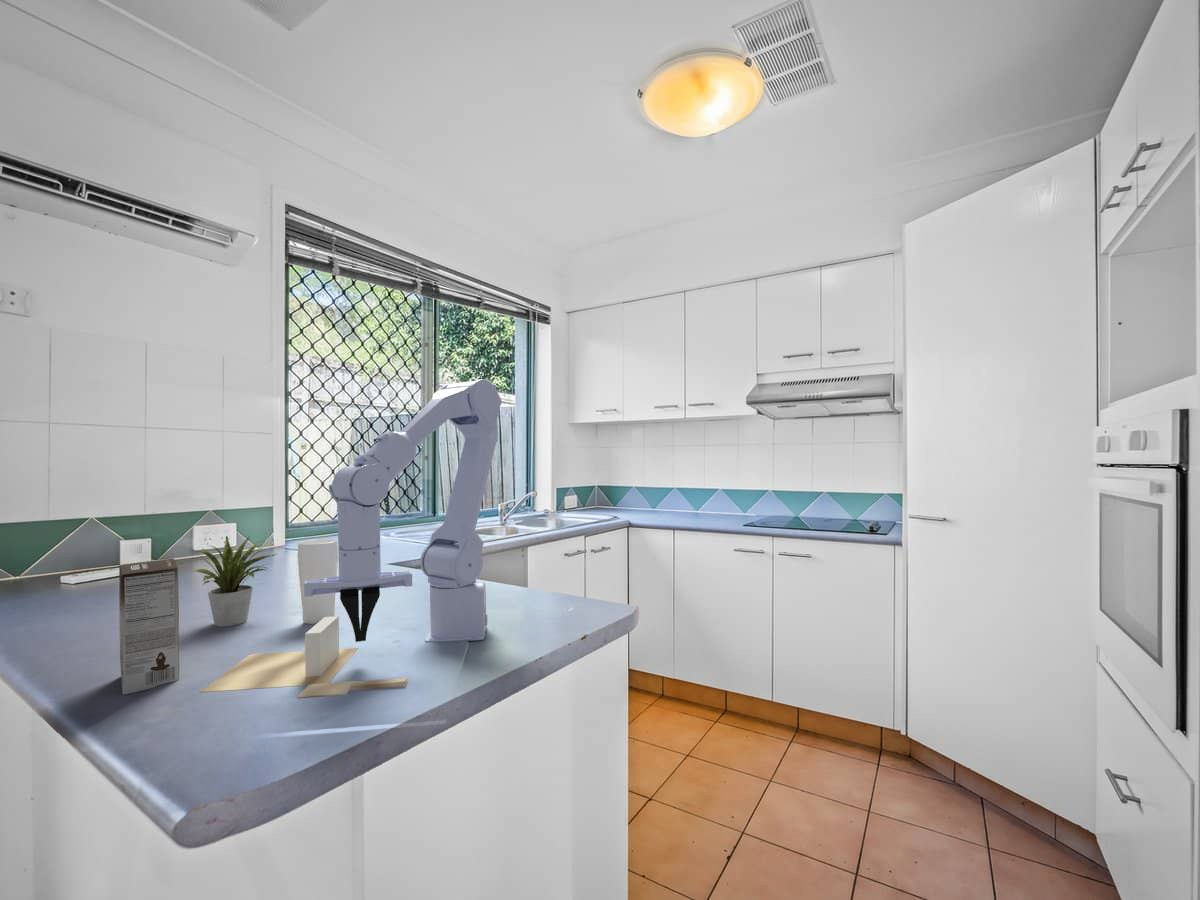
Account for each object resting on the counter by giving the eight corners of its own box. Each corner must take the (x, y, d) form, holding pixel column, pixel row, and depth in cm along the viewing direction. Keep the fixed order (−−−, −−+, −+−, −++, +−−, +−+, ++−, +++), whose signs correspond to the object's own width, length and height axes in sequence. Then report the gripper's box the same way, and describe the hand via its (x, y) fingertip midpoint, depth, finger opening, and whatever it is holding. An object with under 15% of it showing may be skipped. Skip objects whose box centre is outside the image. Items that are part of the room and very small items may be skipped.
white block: (339, 655, 87) (338, 616, 87) (320, 675, 79) (320, 632, 79) (324, 656, 86) (324, 617, 86) (304, 676, 79) (304, 633, 79)
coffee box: (119, 676, 81) (118, 563, 81) (175, 664, 85) (174, 557, 85) (121, 696, 74) (119, 573, 74) (181, 682, 78) (180, 566, 78)
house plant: (241, 636, 98) (240, 542, 98) (162, 637, 98) (161, 542, 98) (288, 613, 112) (287, 530, 112) (219, 613, 112) (218, 531, 112)
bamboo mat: (358, 650, 90) (358, 647, 90) (328, 686, 76) (328, 683, 76) (250, 656, 88) (250, 654, 88) (199, 695, 74) (199, 692, 74)
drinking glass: (307, 616, 109) (306, 539, 109) (344, 615, 110) (343, 538, 110) (291, 627, 103) (290, 544, 103) (330, 626, 103) (329, 543, 103)
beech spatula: (409, 680, 78) (409, 673, 78) (403, 693, 74) (403, 685, 74) (308, 689, 76) (308, 681, 76) (297, 702, 72) (296, 694, 72)
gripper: (408, 539, 90) (409, 625, 90) (306, 546, 84) (307, 638, 84) (413, 546, 84) (414, 638, 83) (302, 554, 78) (303, 653, 78)
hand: (360, 639), depth 83 cm, fingers closed
